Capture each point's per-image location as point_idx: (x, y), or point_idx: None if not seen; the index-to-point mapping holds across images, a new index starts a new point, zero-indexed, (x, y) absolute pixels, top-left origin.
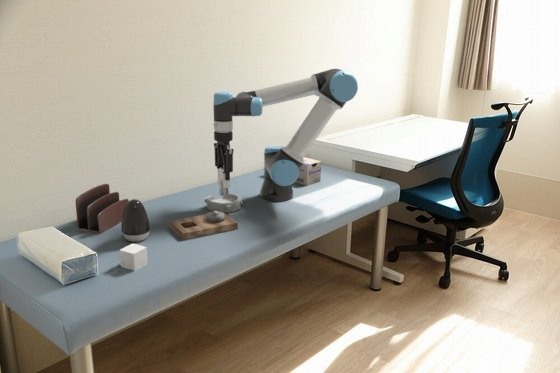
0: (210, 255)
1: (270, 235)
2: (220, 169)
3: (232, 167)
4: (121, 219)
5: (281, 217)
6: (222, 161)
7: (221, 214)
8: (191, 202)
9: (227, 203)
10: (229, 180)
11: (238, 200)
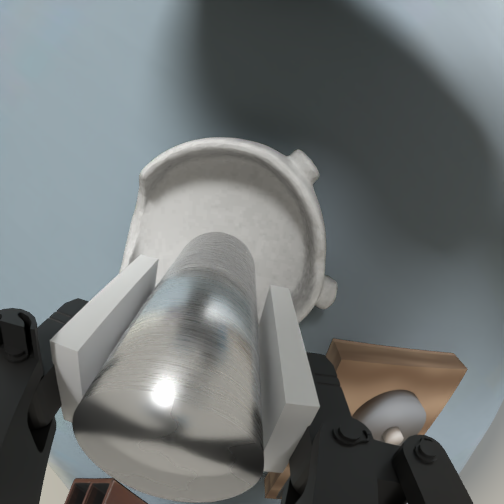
0: (455, 455)
1: None
2: (192, 499)
3: (463, 497)
4: (139, 502)
5: (500, 129)
6: (6, 485)
7: (410, 415)
8: (61, 305)
9: (315, 302)
10: (296, 330)
11: (316, 199)
